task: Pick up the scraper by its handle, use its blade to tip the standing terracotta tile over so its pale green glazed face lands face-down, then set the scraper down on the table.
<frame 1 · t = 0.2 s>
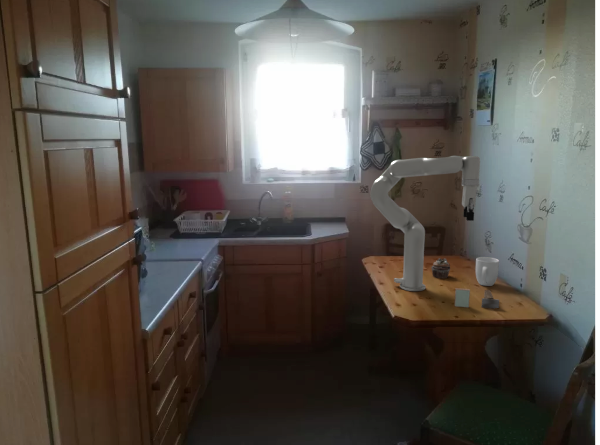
hand: (468, 218, 224), 36 cm above the table, tool pointing down, fingers open, 9 cm apart
mug: (485, 285, 241), on the table
cupcake: (440, 276, 256), on the table
tile: (461, 306, 210), on the table
scraper: (488, 303, 214), on the table
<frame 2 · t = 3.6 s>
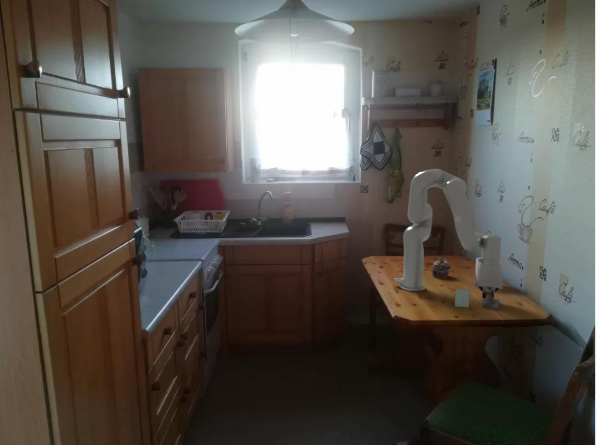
hand: (487, 300, 217), 0 cm above the table, tool pointing down, fingers closed on scraper, 2 cm apart
scraper: (488, 303, 214), on the table, touching gripper
everything else where it was.
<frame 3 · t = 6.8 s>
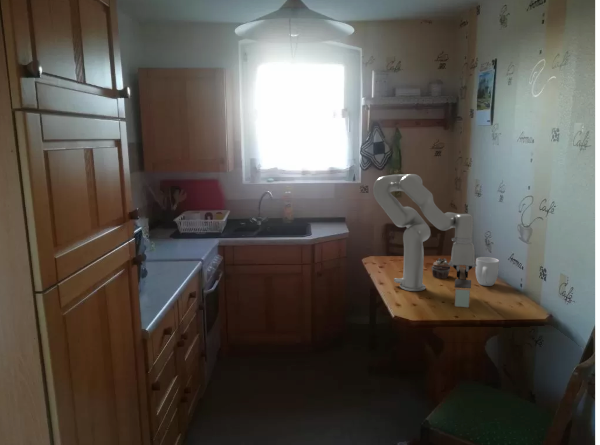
hand: (462, 278, 222), 9 cm above the table, tool pointing down, fingers closed on scraper
scraper: (461, 281, 222), point 8 cm above the table, tilted 14°, touching gripper
everything else where it was.
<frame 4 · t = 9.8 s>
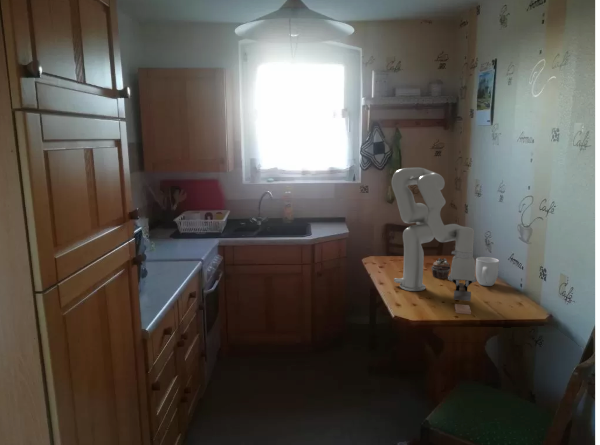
hand: (461, 293, 214), 4 cm above the table, tool pointing down, fingers closed on scraper
tile: (461, 306, 209), on the table, tilted 90°
scraper: (461, 296, 215), point 3 cm above the table, touching gripper
everything else where it was.
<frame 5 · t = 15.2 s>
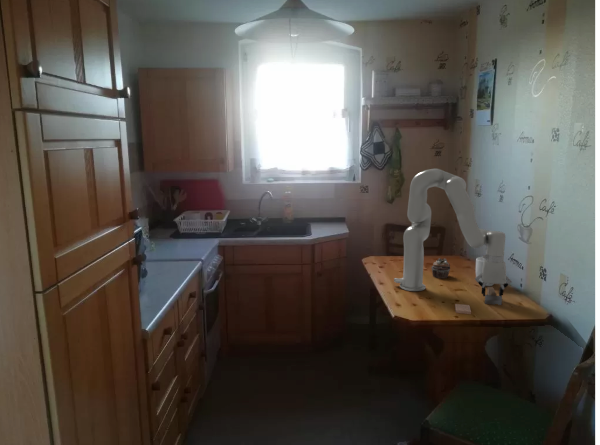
hand: (492, 295, 218), 2 cm above the table, tool pointing down, fingers open, 6 cm apart
scraper: (491, 300, 219), on the table
everything else where it was.
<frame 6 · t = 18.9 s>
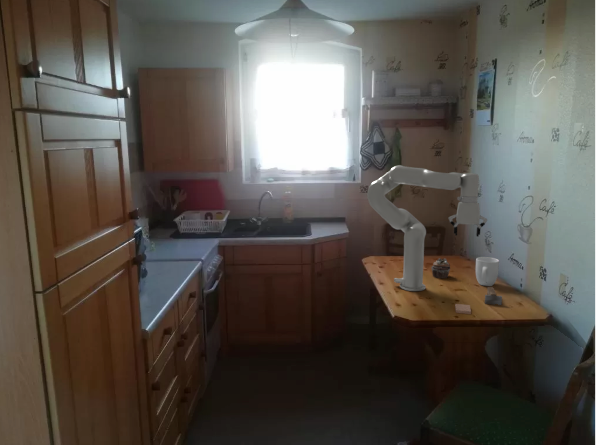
hand: (466, 235, 224), 28 cm above the table, tool pointing down, fingers open, 9 cm apart
nothing on the table moved.
at the end: tile tilted 90°; the gripper is holding nothing; scraper inside the target area (3.4 cm from its centre), on the table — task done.
